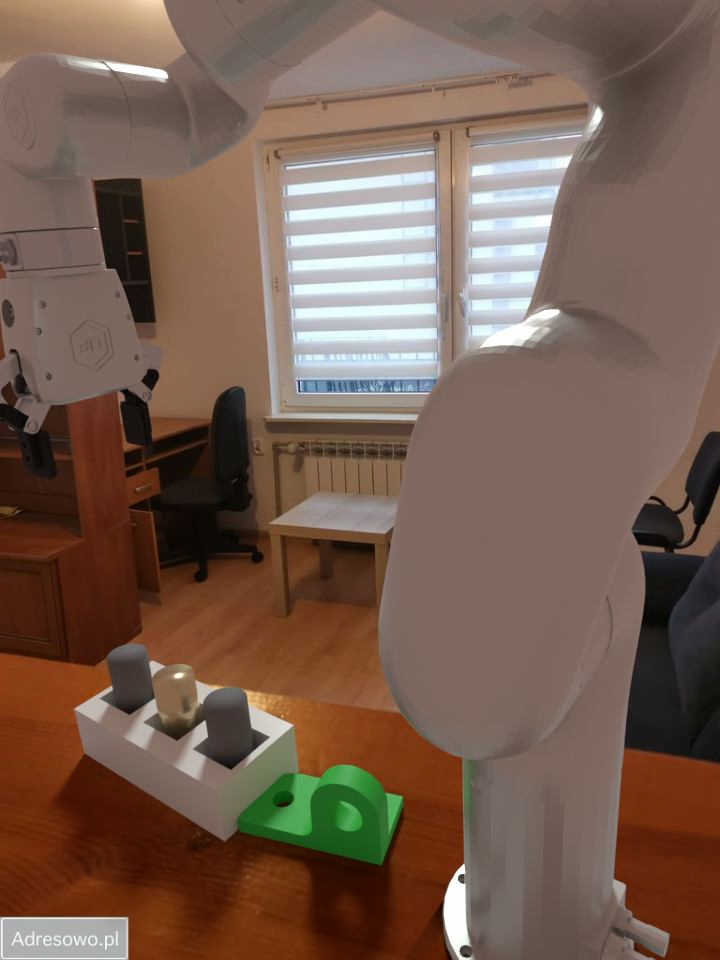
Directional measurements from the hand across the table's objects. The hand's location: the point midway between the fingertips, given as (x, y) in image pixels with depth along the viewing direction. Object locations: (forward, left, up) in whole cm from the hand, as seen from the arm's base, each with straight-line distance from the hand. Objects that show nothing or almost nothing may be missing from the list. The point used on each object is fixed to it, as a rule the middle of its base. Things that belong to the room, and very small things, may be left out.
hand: (94, 459), depth 63 cm
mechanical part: (-23, +1, -28) cm, 37 cm away
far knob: (-2, +2, -24) cm, 24 cm away
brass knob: (-9, +2, -24) cm, 26 cm away
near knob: (-15, +2, -24) cm, 29 cm away
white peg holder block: (-9, +2, -28) cm, 30 cm away
